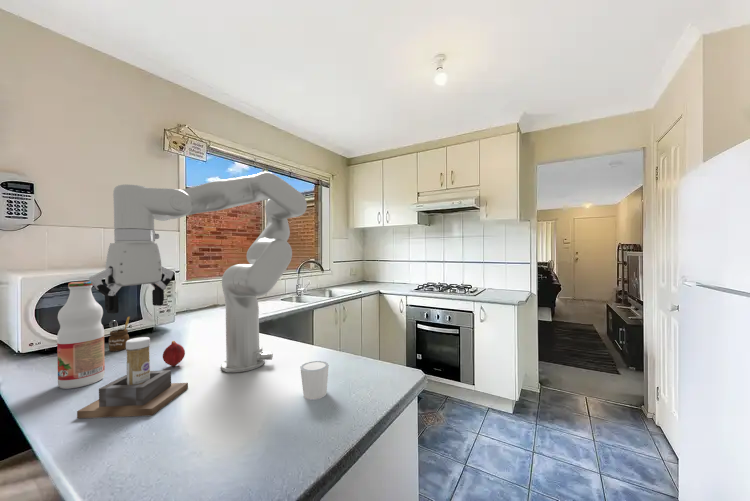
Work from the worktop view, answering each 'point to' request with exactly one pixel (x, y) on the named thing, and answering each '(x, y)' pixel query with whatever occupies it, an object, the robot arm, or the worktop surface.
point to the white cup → (314, 379)
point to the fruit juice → (80, 339)
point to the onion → (173, 354)
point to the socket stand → (134, 397)
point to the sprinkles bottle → (138, 360)
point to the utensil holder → (118, 338)
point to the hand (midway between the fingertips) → (136, 309)
